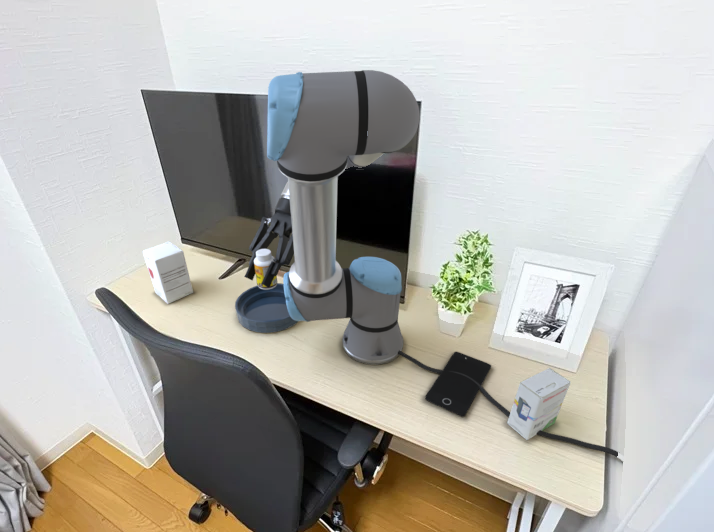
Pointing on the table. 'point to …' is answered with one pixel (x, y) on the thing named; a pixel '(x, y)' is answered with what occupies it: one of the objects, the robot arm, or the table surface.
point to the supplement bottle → (263, 267)
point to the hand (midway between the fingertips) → (256, 281)
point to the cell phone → (458, 383)
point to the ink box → (538, 402)
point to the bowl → (264, 310)
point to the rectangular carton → (168, 271)
